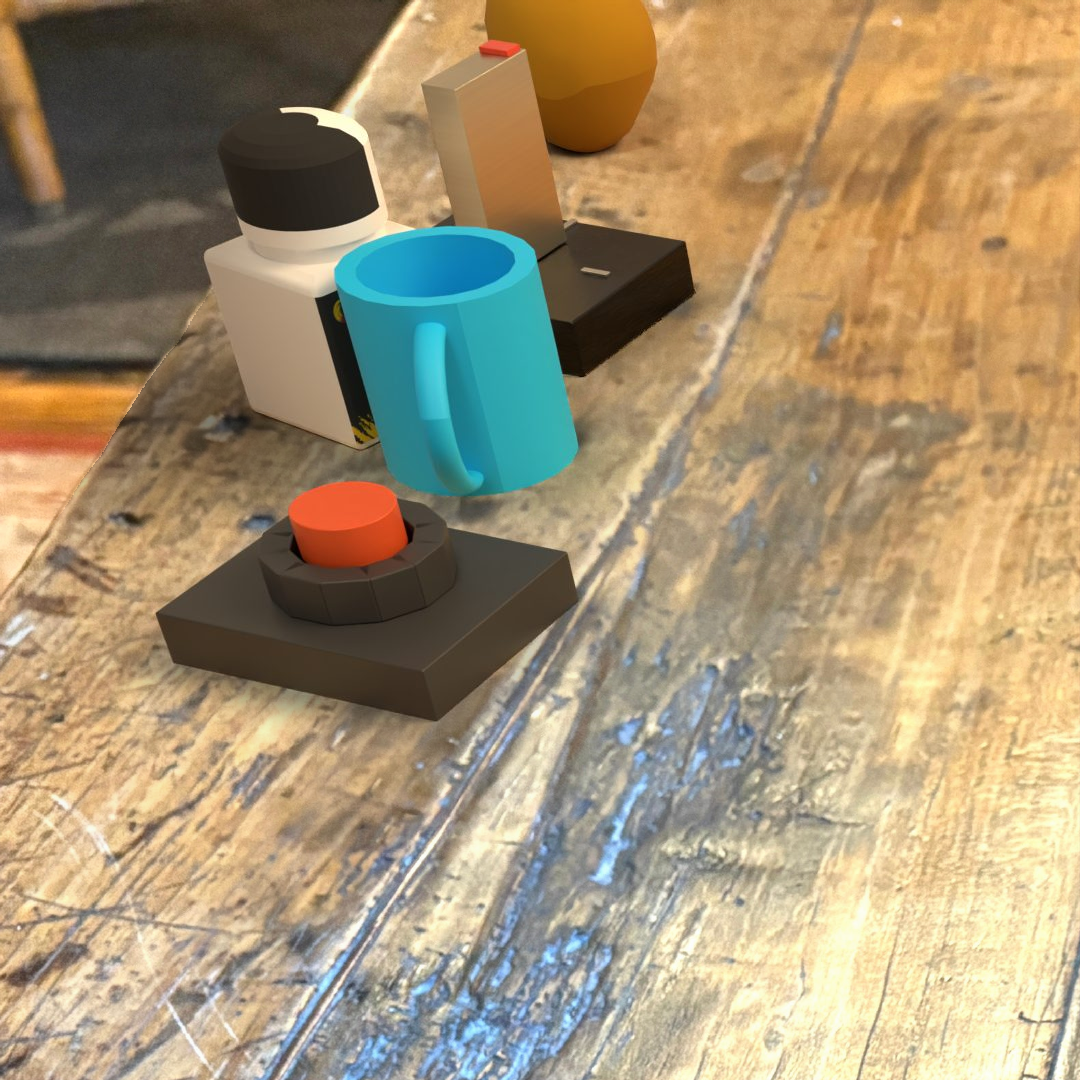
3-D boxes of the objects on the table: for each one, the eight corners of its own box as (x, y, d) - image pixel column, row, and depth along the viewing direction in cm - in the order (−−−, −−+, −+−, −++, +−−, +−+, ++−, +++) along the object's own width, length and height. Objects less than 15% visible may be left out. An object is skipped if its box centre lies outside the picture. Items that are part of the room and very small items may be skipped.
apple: (708, 134, 142) (676, -47, 136) (590, 183, 137) (551, -3, 131) (595, 99, 145) (559, -80, 139) (476, 145, 140) (433, -38, 134)
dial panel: (360, 334, 124) (344, 277, 122) (481, 254, 131) (468, 199, 129) (584, 377, 121) (571, 319, 120) (696, 293, 128) (685, 237, 126)
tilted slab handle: (501, 284, 122) (453, 83, 116) (468, 278, 123) (418, 77, 116) (567, 240, 126) (524, 43, 119) (535, 234, 126) (490, 37, 120)
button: (279, 561, 102) (265, 518, 100) (342, 515, 104) (329, 473, 103) (368, 580, 101) (355, 537, 100) (429, 533, 104) (417, 491, 102)
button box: (172, 664, 103) (138, 568, 100) (327, 549, 110) (299, 456, 107) (437, 723, 101) (409, 627, 98) (580, 601, 107) (557, 508, 104)
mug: (399, 416, 118) (347, 229, 112) (586, 408, 119) (545, 222, 113) (362, 545, 110) (305, 351, 104) (564, 535, 111) (518, 342, 105)
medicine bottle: (361, 454, 116) (279, 169, 107) (248, 412, 118) (159, 130, 109) (482, 395, 120) (413, 115, 111) (371, 356, 122) (295, 80, 114)
